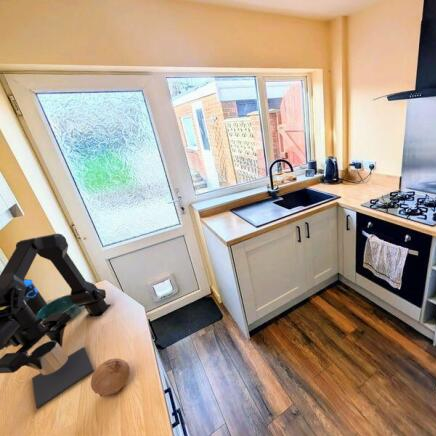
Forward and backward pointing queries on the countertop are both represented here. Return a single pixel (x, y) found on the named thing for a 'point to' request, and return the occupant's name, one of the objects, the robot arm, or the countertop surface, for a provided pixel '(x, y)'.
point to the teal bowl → (60, 308)
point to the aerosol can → (33, 297)
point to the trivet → (61, 378)
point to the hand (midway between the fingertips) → (50, 358)
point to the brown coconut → (110, 376)
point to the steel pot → (50, 356)
